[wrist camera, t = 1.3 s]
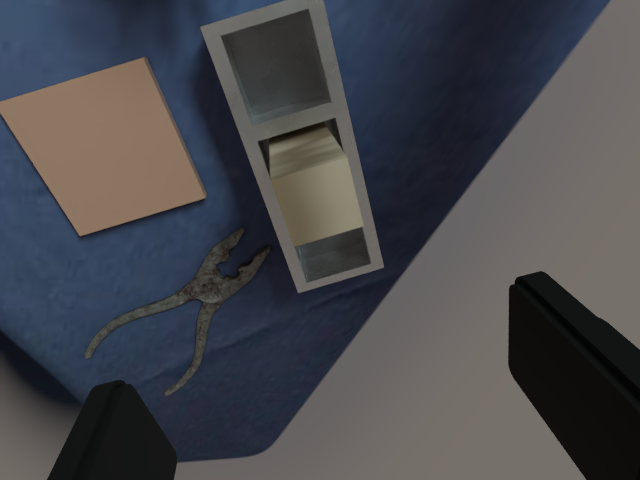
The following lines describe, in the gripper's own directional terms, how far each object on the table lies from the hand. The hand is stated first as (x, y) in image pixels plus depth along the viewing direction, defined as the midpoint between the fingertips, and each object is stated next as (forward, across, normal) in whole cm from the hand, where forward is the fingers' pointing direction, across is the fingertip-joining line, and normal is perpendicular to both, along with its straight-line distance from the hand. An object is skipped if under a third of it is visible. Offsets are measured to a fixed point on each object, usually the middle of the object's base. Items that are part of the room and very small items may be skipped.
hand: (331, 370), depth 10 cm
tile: (+22, +12, -3) cm, 26 cm away
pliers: (+23, +14, +11) cm, 29 cm away
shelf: (+22, -1, +1) cm, 23 cm away
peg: (+22, -1, +1) cm, 22 cm away
